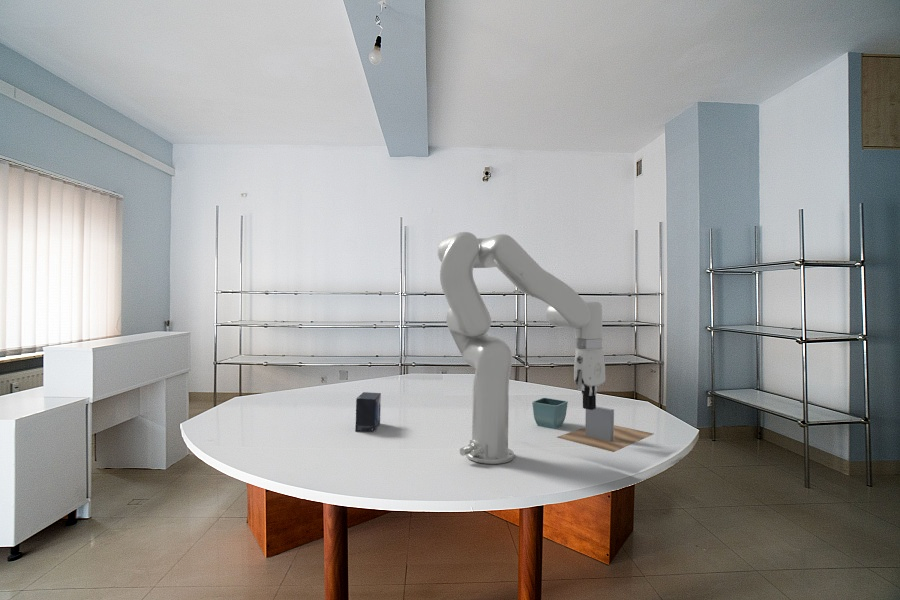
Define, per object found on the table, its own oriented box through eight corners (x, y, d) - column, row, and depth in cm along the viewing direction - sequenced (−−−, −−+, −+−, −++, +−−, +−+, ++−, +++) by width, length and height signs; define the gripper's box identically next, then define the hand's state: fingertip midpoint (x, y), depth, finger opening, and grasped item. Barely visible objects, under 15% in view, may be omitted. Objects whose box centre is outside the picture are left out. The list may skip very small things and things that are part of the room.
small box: (375, 432, 146) (376, 398, 146) (354, 432, 146) (355, 398, 146) (381, 423, 156) (381, 392, 156) (361, 423, 156) (362, 391, 156)
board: (613, 456, 125) (613, 451, 125) (556, 441, 138) (556, 437, 138) (654, 437, 143) (654, 433, 143) (599, 425, 156) (599, 422, 156)
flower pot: (556, 434, 146) (557, 405, 146) (531, 429, 151) (531, 401, 151) (568, 428, 153) (568, 401, 153) (543, 424, 158) (543, 397, 158)
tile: (610, 441, 135) (610, 410, 135) (585, 435, 140) (585, 405, 140) (613, 440, 136) (614, 409, 136) (588, 434, 142) (589, 404, 142)
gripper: (586, 347, 126) (587, 415, 126) (613, 343, 136) (614, 406, 136) (562, 345, 131) (563, 411, 131) (590, 341, 141) (590, 402, 141)
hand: (589, 408), depth 134 cm, fingers closed
